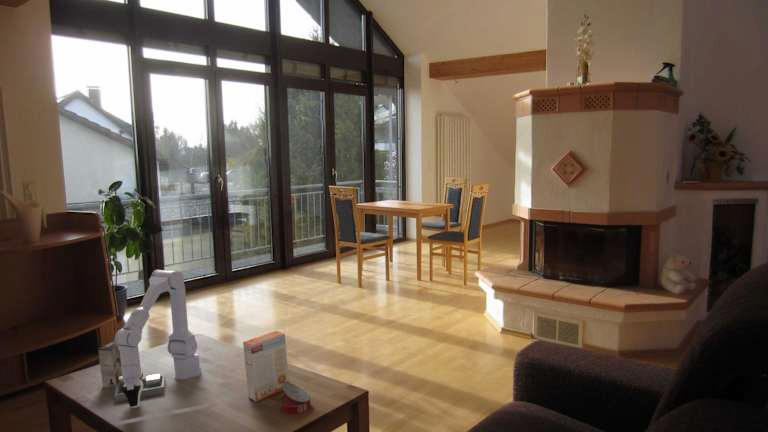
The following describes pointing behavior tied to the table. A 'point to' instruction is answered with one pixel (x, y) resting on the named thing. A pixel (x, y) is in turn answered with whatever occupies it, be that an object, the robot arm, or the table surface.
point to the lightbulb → (139, 391)
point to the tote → (145, 392)
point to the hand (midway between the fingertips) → (134, 400)
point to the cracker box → (265, 365)
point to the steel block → (153, 381)
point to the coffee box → (110, 365)
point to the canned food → (294, 399)
